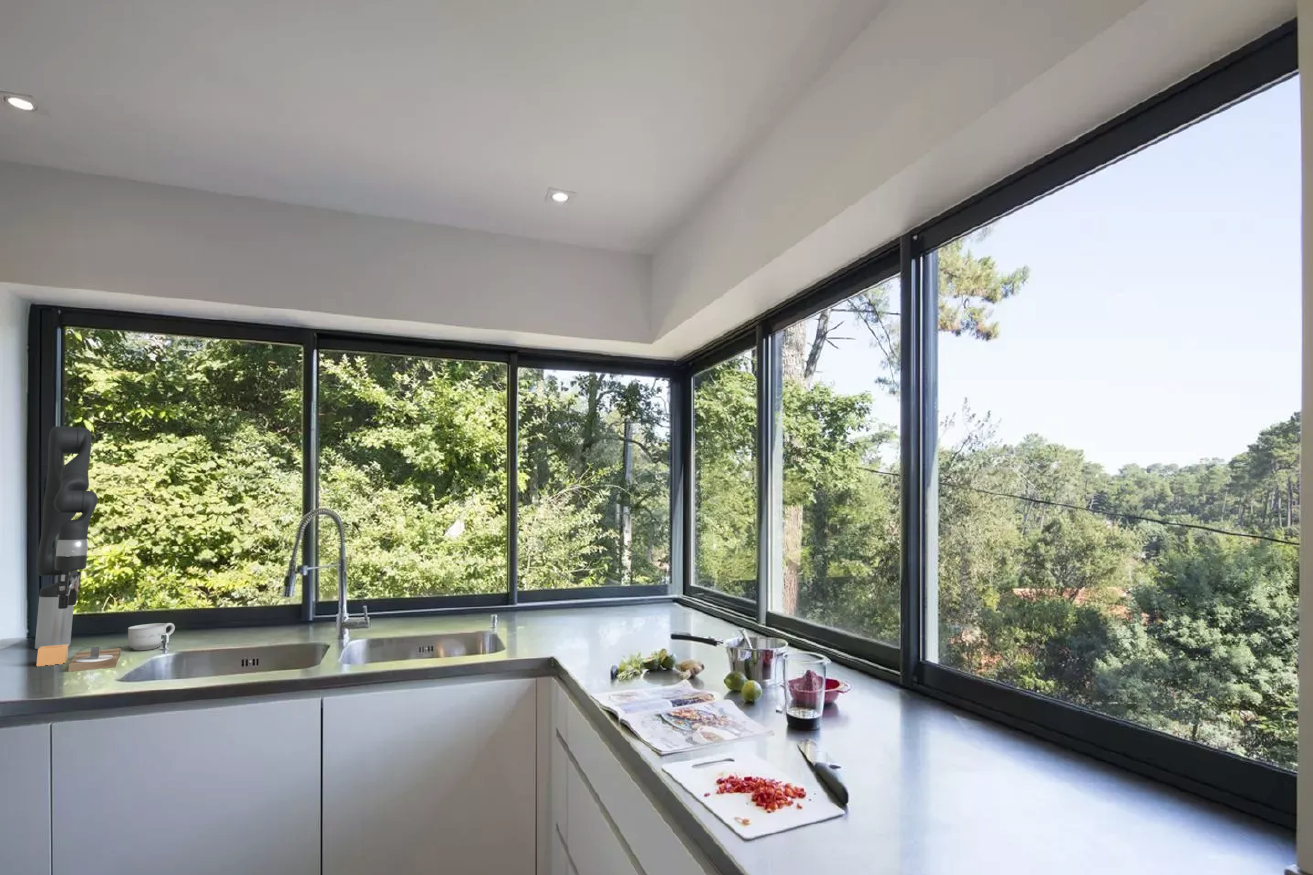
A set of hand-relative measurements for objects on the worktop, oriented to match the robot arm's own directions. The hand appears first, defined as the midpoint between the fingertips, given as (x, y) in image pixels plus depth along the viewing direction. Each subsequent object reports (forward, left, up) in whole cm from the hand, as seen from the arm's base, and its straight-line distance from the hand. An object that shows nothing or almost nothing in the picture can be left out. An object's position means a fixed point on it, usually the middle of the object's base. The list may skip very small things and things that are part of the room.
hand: (67, 606), depth 219 cm
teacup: (-13, +22, -17) cm, 31 cm away
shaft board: (+4, +8, -17) cm, 20 cm away
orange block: (-1, -3, -17) cm, 17 cm away
